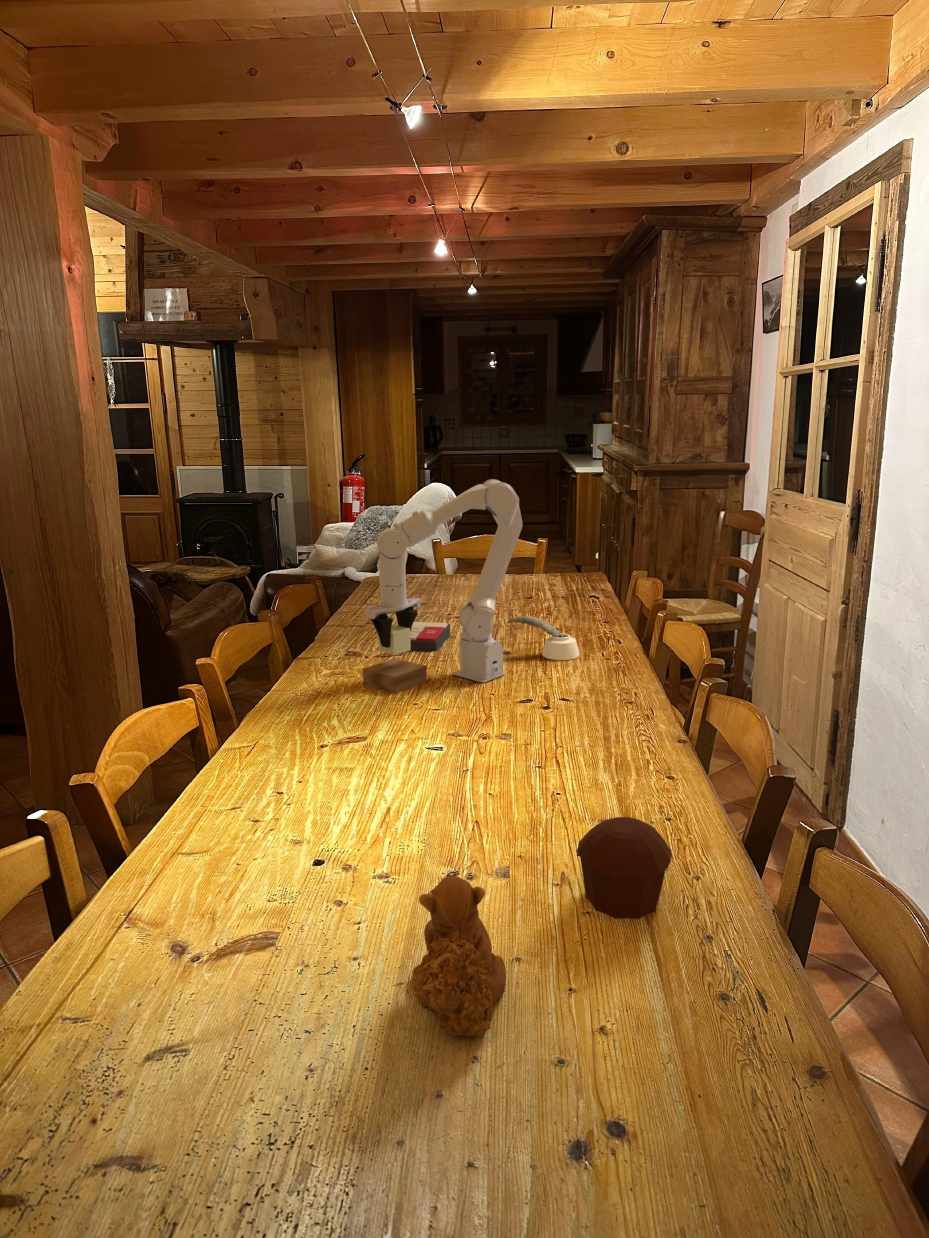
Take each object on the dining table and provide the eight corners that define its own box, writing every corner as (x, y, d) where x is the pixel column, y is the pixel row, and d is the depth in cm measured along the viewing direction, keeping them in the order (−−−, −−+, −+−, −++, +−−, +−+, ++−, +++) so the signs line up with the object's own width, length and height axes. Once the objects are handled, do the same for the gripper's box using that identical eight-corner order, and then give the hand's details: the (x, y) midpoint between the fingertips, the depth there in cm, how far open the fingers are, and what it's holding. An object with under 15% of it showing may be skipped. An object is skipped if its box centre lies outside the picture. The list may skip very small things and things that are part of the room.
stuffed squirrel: (504, 961, 92) (503, 854, 89) (515, 1058, 78) (515, 935, 75) (413, 964, 92) (409, 856, 89) (408, 1061, 78) (403, 938, 75)
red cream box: (394, 636, 212) (410, 619, 225) (395, 652, 213) (411, 634, 227) (436, 638, 209) (450, 621, 223) (436, 655, 210) (450, 636, 224)
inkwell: (582, 660, 201) (583, 620, 198) (507, 661, 201) (507, 621, 198) (576, 649, 210) (577, 611, 207) (505, 651, 210) (505, 612, 207)
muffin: (607, 864, 111) (609, 795, 109) (685, 893, 104) (689, 820, 102) (558, 904, 102) (559, 830, 100) (639, 939, 96) (643, 860, 93)
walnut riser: (427, 683, 187) (426, 665, 186) (396, 694, 180) (395, 677, 179) (394, 674, 193) (394, 658, 192) (363, 686, 186) (362, 668, 185)
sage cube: (410, 650, 187) (409, 628, 185) (393, 655, 183) (393, 633, 182) (395, 646, 190) (394, 624, 189) (378, 650, 187) (378, 629, 185)
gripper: (404, 576, 191) (406, 634, 194) (355, 587, 180) (358, 647, 184) (426, 580, 186) (427, 639, 189) (377, 591, 176) (379, 653, 179)
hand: (395, 644), depth 186 cm, fingers closed on sage cube, 5 cm apart
